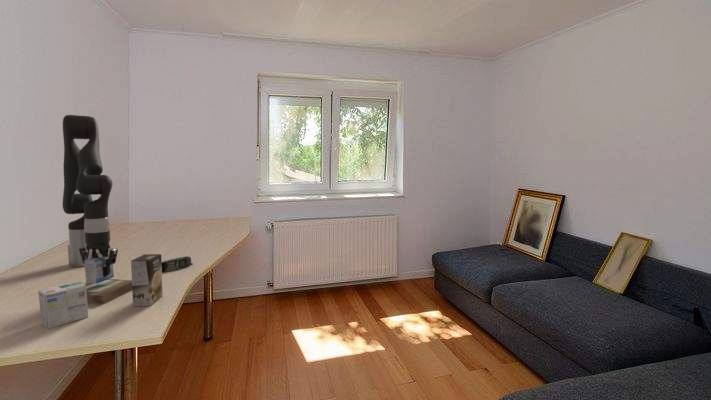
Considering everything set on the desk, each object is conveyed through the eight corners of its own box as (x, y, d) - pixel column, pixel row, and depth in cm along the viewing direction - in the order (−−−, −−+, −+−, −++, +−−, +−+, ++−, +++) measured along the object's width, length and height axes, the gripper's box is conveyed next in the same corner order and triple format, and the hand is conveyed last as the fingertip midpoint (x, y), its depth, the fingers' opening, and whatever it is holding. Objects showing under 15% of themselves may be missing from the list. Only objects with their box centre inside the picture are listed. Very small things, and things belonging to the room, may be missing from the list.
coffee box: (151, 306, 126) (149, 260, 124) (132, 306, 126) (130, 260, 124) (163, 296, 135) (161, 253, 133) (145, 296, 135) (143, 253, 133)
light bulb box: (81, 311, 121) (78, 280, 119) (89, 317, 117) (87, 284, 116) (39, 323, 112) (36, 289, 111) (47, 329, 108) (44, 294, 107)
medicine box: (95, 284, 131) (94, 260, 130) (85, 283, 132) (83, 259, 131) (114, 277, 139) (113, 254, 138) (104, 276, 139) (103, 254, 138)
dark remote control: (162, 262, 161) (194, 255, 173) (159, 261, 163) (191, 254, 175) (163, 273, 162) (195, 265, 174) (159, 272, 164) (191, 264, 176)
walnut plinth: (62, 301, 129) (61, 292, 128) (98, 285, 145) (98, 277, 144) (103, 304, 127) (103, 294, 127) (136, 288, 143) (136, 279, 142)
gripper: (70, 231, 130) (73, 277, 132) (107, 232, 128) (109, 279, 130) (87, 227, 137) (90, 271, 139) (123, 228, 136) (125, 273, 138)
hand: (100, 275), depth 135 cm, fingers closed on medicine box, 4 cm apart
